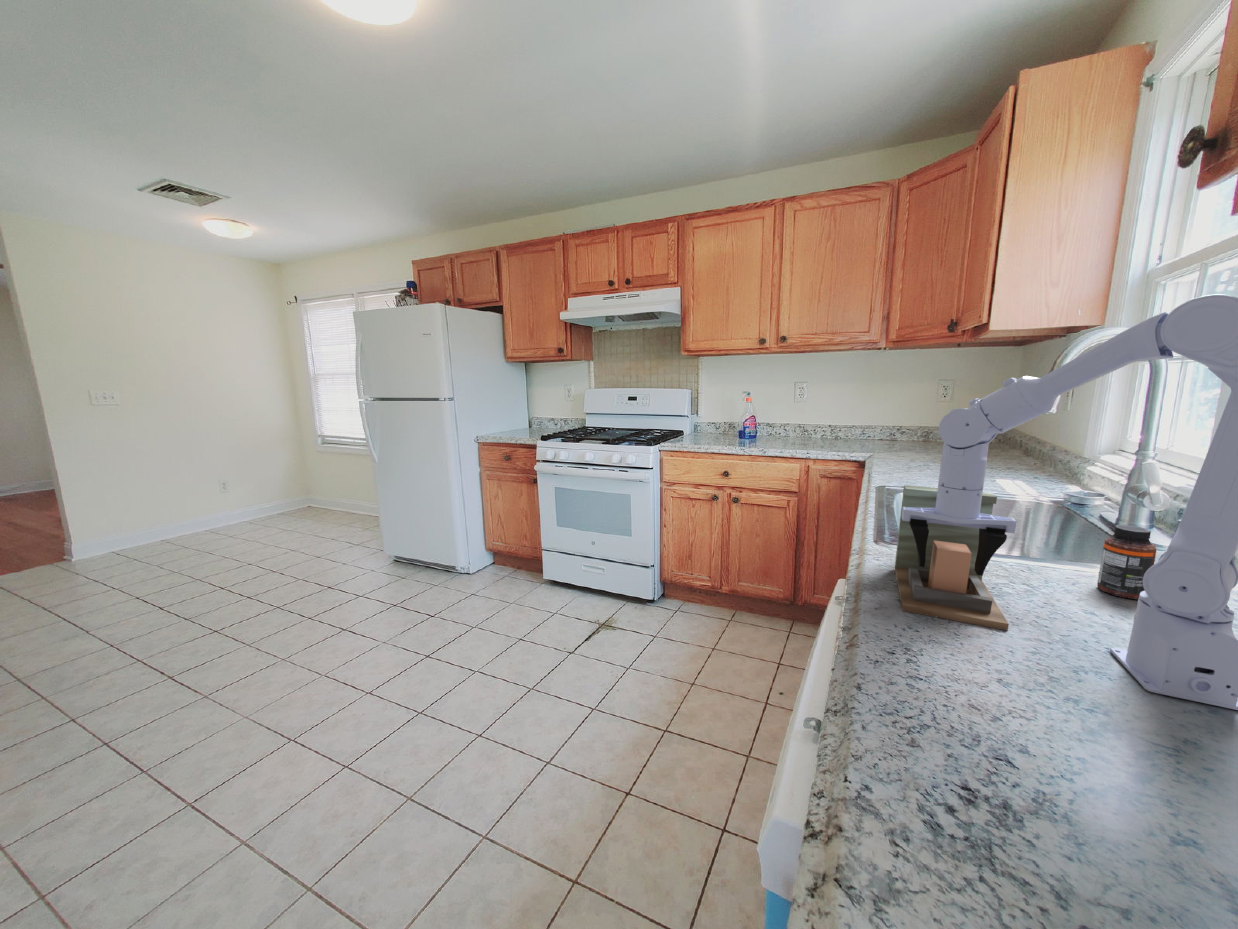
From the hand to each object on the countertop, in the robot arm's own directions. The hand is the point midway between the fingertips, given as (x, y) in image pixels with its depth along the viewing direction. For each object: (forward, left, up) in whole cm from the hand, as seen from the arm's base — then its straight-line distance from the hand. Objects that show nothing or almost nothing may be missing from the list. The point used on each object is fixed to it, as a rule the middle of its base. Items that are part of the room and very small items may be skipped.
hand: (949, 568), depth 76 cm
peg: (0, 0, -4) cm, 4 cm away
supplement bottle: (+16, -27, -6) cm, 32 cm away
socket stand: (+2, 0, -5) cm, 6 cm away
